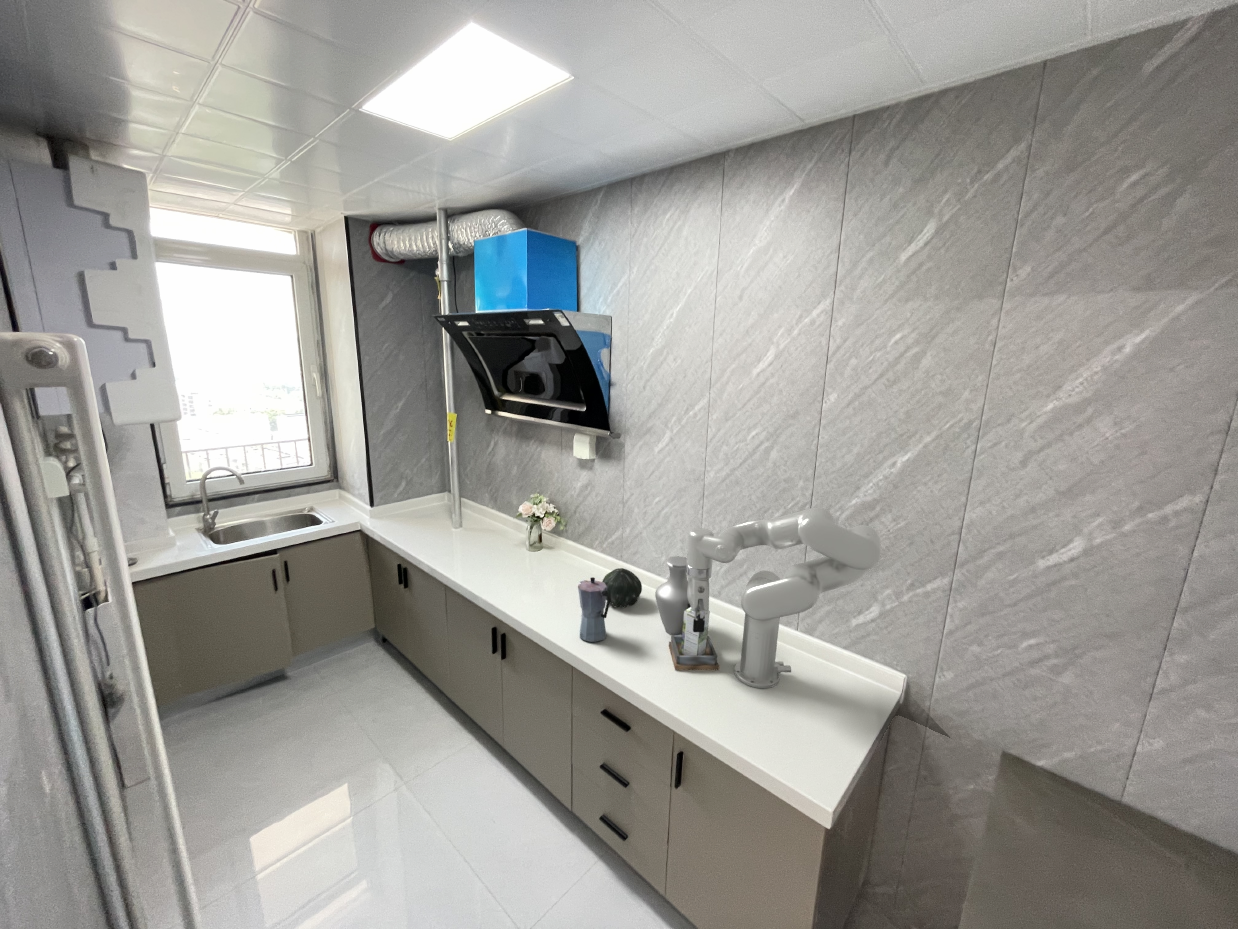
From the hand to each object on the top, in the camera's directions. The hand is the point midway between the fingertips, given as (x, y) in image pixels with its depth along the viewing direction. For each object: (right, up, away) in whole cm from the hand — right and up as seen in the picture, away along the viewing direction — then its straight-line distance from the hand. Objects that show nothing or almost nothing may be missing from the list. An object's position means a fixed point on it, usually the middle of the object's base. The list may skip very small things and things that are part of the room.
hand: (695, 623), depth 155 cm
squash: (-22, -4, +36) cm, 43 cm away
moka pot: (-31, -8, +13) cm, 35 cm away
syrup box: (0, -10, +2) cm, 10 cm away
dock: (0, -11, +2) cm, 12 cm away
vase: (-4, -8, +18) cm, 20 cm away
